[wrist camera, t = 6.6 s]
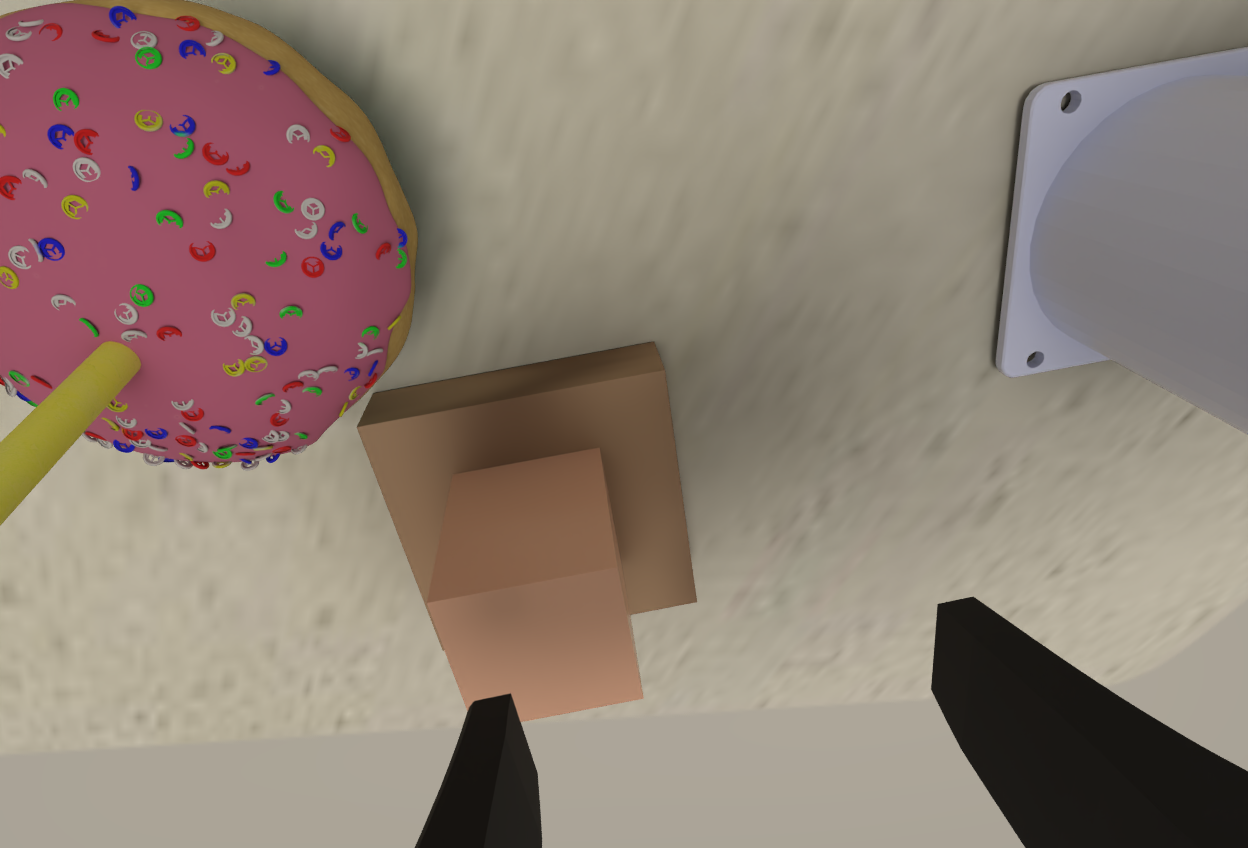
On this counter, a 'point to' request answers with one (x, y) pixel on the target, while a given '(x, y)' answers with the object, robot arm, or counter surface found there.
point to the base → (542, 455)
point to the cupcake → (186, 239)
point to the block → (535, 588)
